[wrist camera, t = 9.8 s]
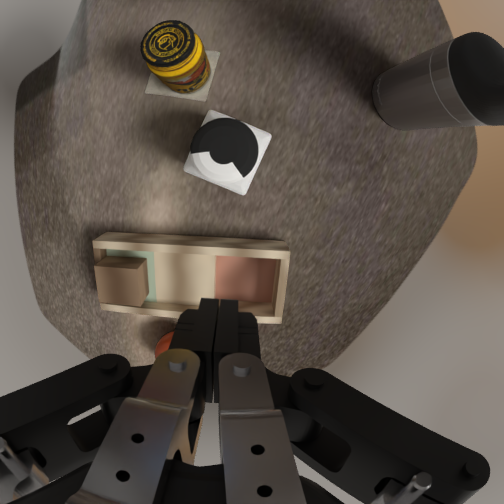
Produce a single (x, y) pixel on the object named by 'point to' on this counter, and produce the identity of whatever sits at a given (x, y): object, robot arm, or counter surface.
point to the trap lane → (203, 272)
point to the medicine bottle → (226, 152)
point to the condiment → (178, 61)
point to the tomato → (163, 343)
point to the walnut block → (122, 280)
